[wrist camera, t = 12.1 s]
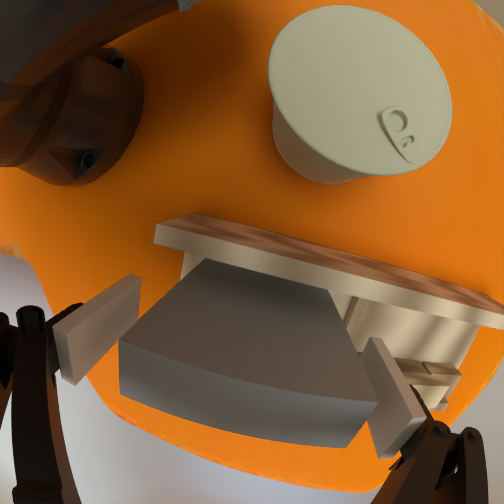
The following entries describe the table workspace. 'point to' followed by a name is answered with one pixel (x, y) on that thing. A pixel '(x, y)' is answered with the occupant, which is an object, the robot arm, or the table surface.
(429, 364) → the oak offcut short
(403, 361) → the walnut offcut long
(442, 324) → the rack
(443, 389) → the pine offcut top
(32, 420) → the robot arm
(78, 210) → the table surface
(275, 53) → the can
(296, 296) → the slate board
